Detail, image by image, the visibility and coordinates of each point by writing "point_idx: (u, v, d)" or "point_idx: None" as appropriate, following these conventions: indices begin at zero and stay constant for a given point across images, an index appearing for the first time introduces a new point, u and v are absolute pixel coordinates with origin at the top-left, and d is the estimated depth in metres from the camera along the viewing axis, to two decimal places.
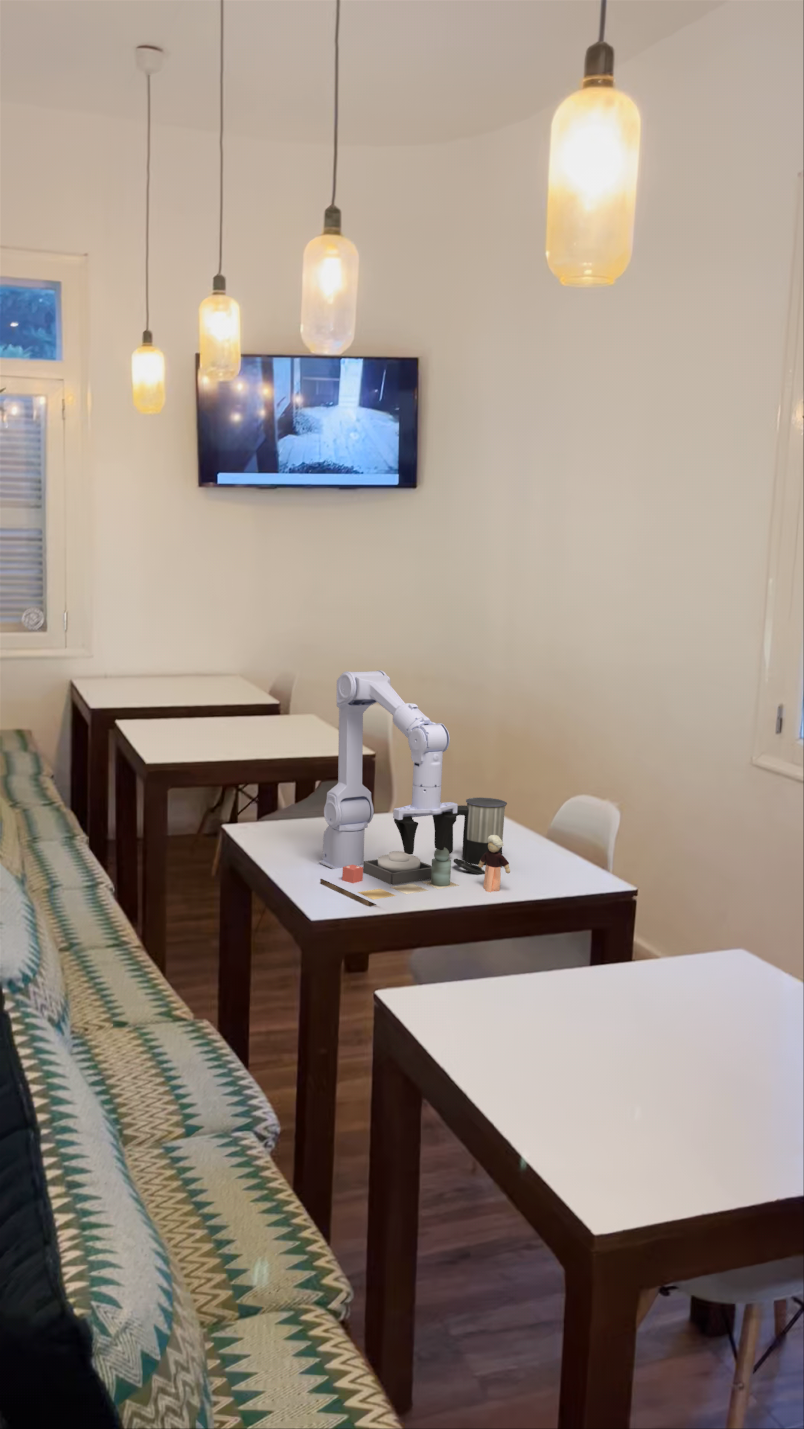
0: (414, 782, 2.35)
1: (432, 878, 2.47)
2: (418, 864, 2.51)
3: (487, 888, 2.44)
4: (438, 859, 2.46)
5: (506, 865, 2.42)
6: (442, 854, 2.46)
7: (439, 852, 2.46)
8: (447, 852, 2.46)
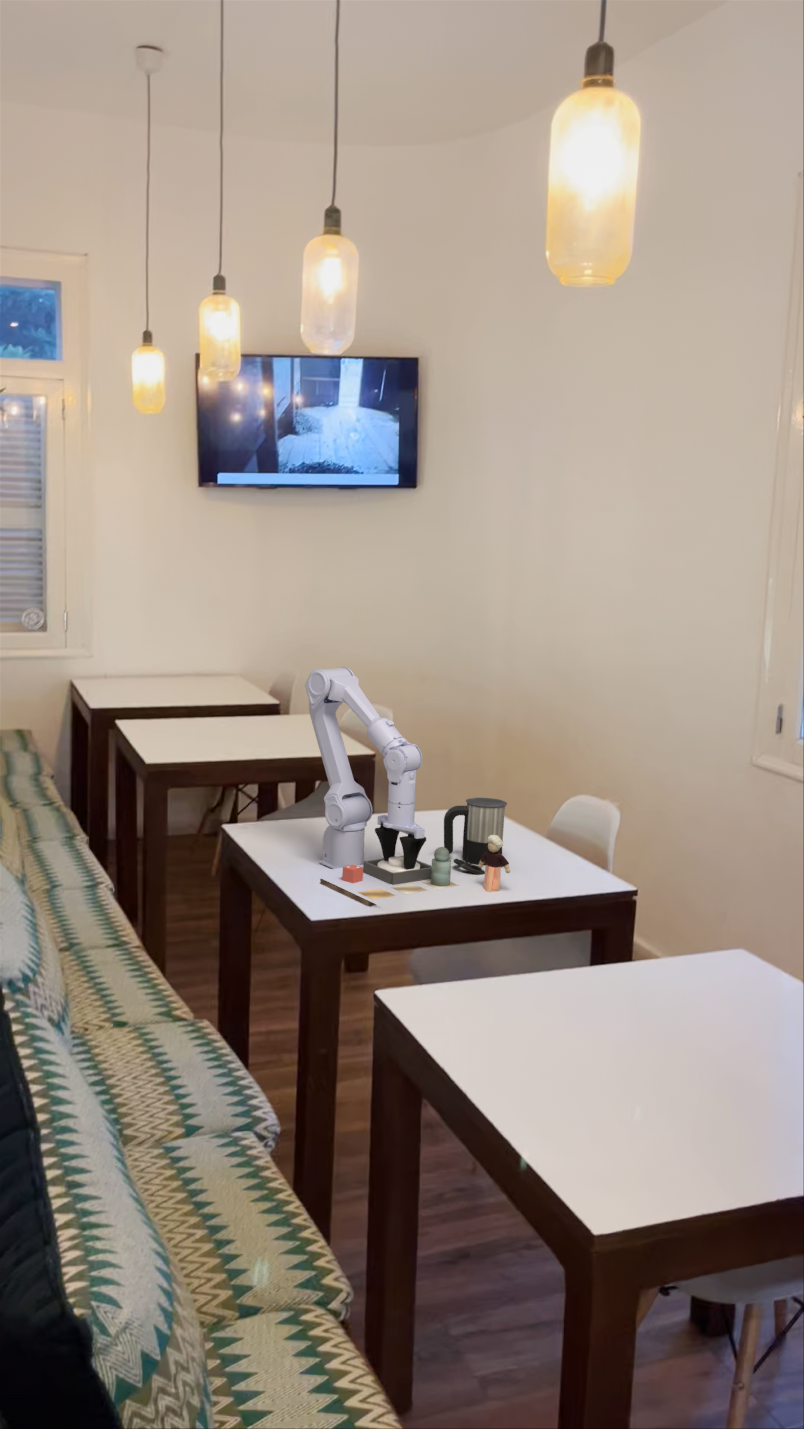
0: (391, 800, 2.49)
1: (432, 878, 2.47)
2: None
3: (487, 888, 2.44)
4: (438, 859, 2.46)
5: (506, 865, 2.42)
6: (442, 854, 2.46)
7: (439, 852, 2.46)
8: (447, 852, 2.46)
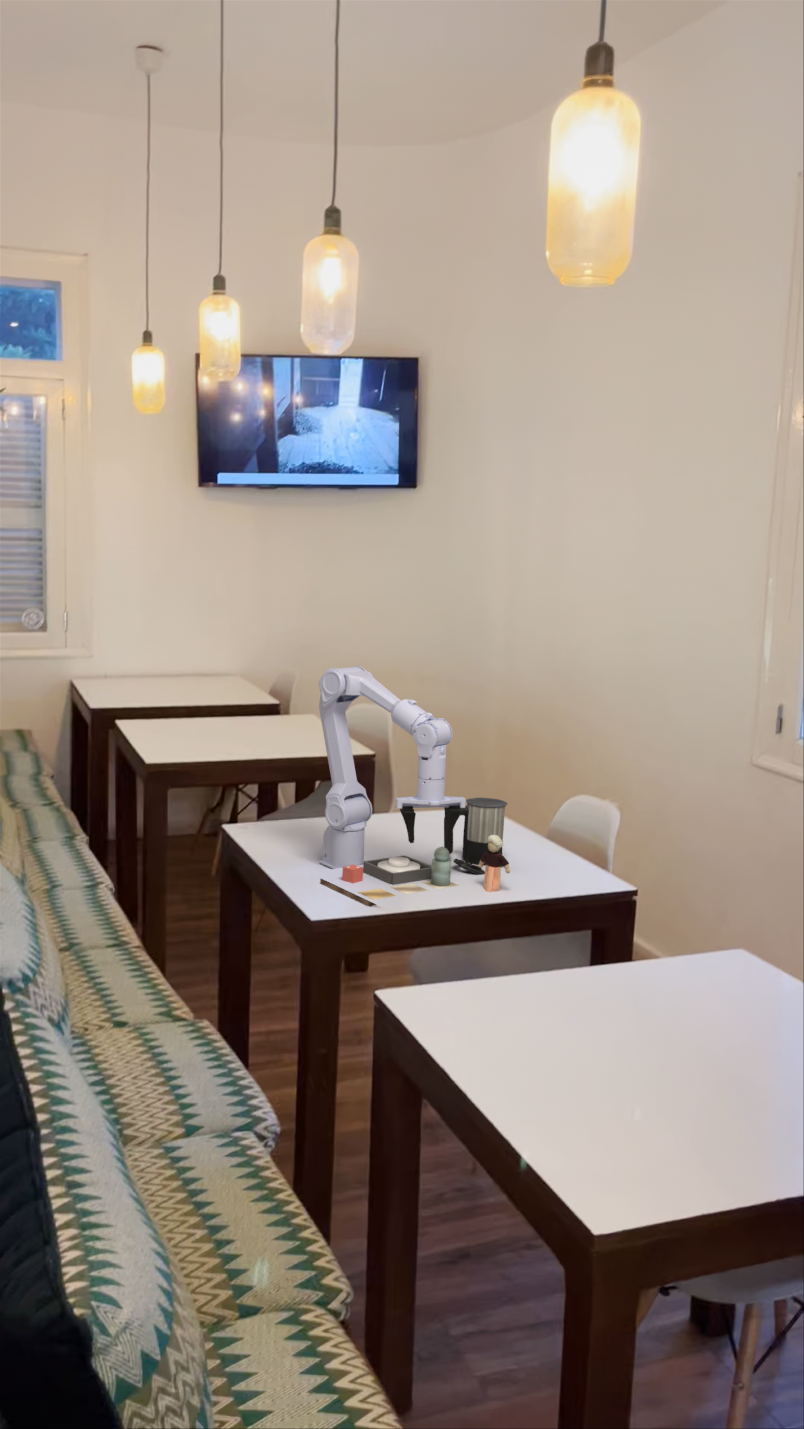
0: (422, 776, 2.45)
1: (432, 878, 2.47)
2: None
3: (487, 888, 2.44)
4: (438, 859, 2.46)
5: (506, 865, 2.42)
6: (442, 854, 2.46)
7: (439, 852, 2.46)
8: (447, 852, 2.46)
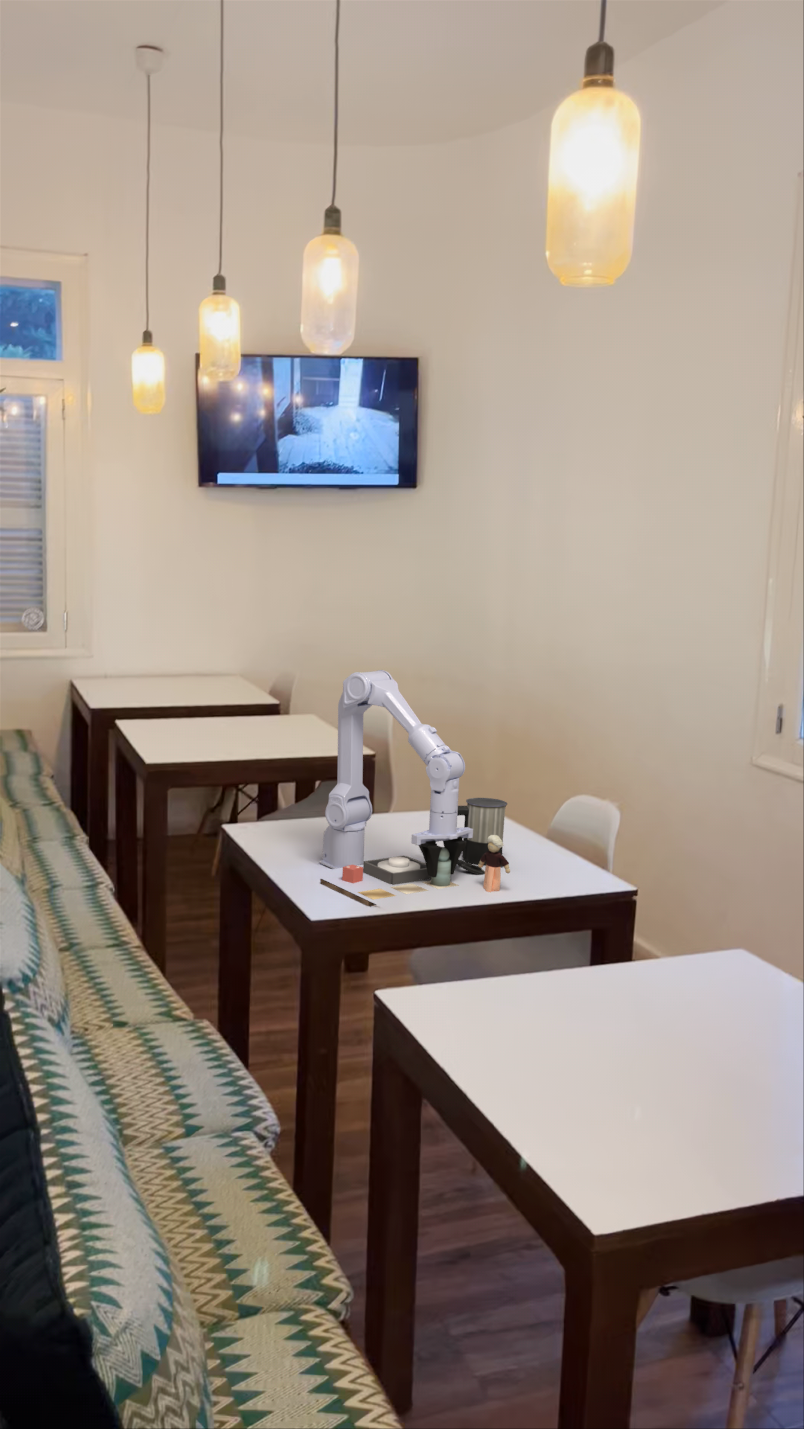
0: (434, 809, 2.44)
1: (432, 878, 2.47)
2: None
3: (487, 888, 2.44)
4: (438, 859, 2.46)
5: (506, 865, 2.42)
6: (442, 854, 2.46)
7: None
8: (447, 852, 2.46)
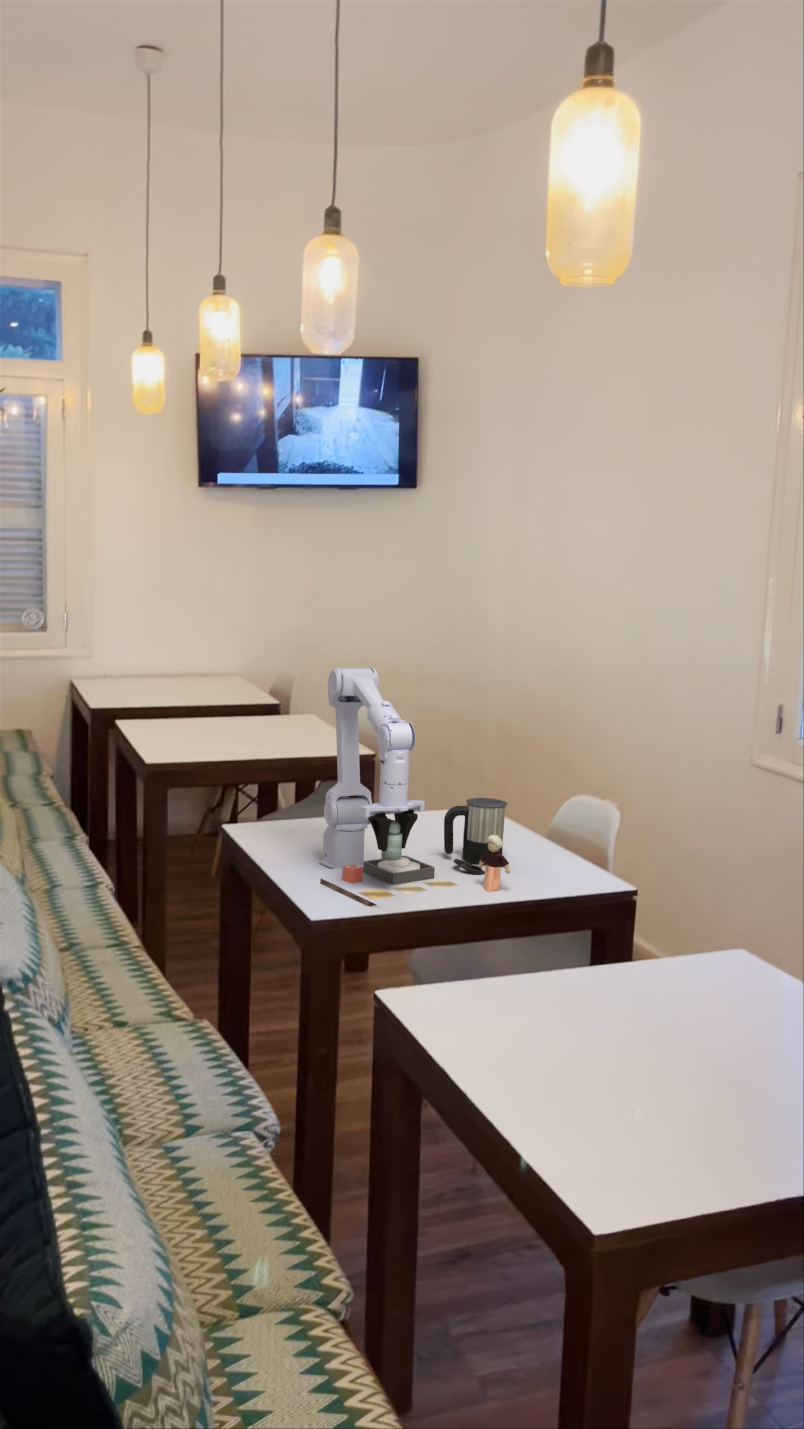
0: (380, 779, 2.37)
1: (383, 852, 2.38)
2: None
3: (487, 888, 2.44)
4: (389, 832, 2.38)
5: (506, 865, 2.42)
6: (392, 828, 2.37)
7: None
8: (398, 825, 2.38)
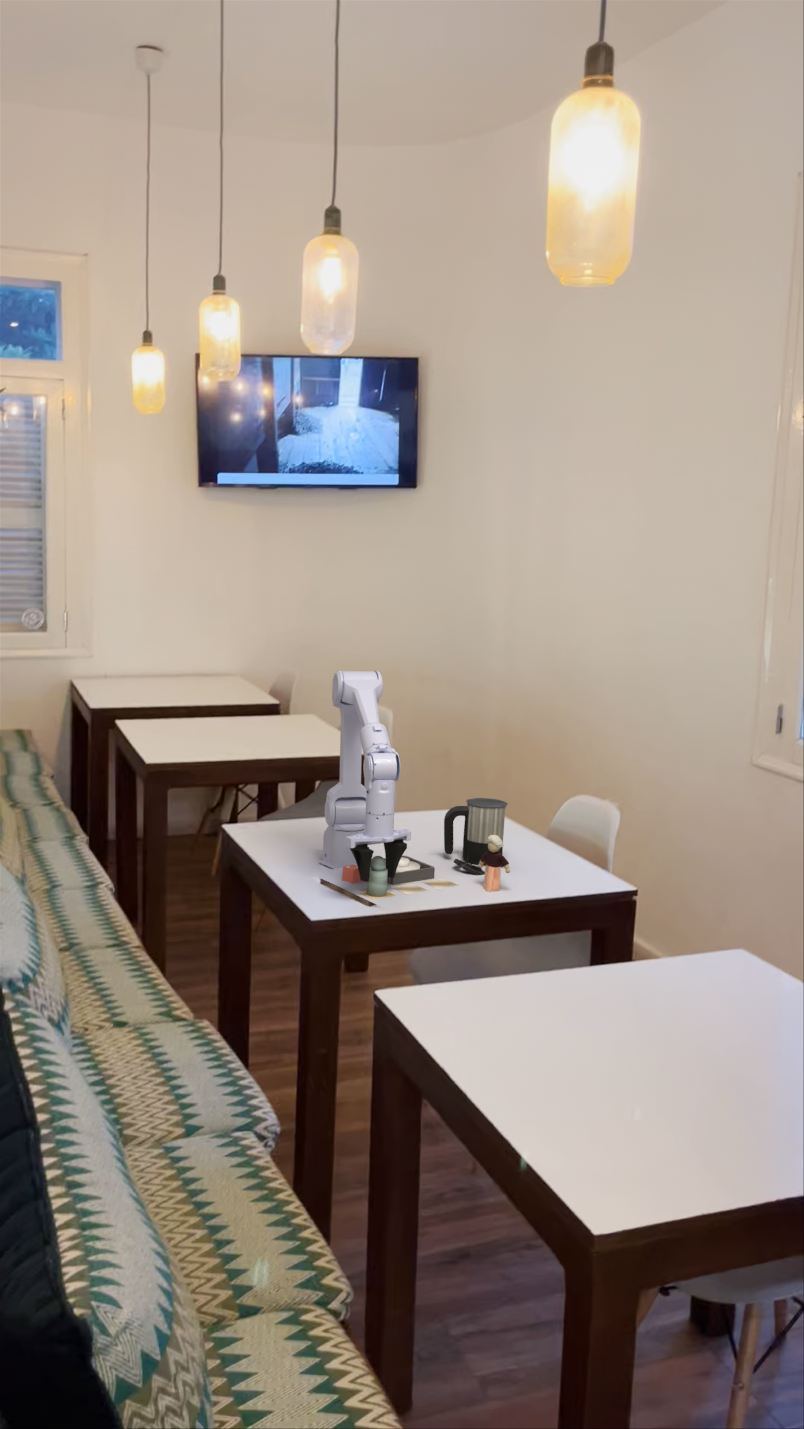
0: (365, 809, 2.36)
1: (368, 888, 2.38)
2: None
3: (487, 888, 2.44)
4: (374, 868, 2.37)
5: (506, 865, 2.42)
6: (377, 864, 2.36)
7: (374, 862, 2.36)
8: (383, 861, 2.37)
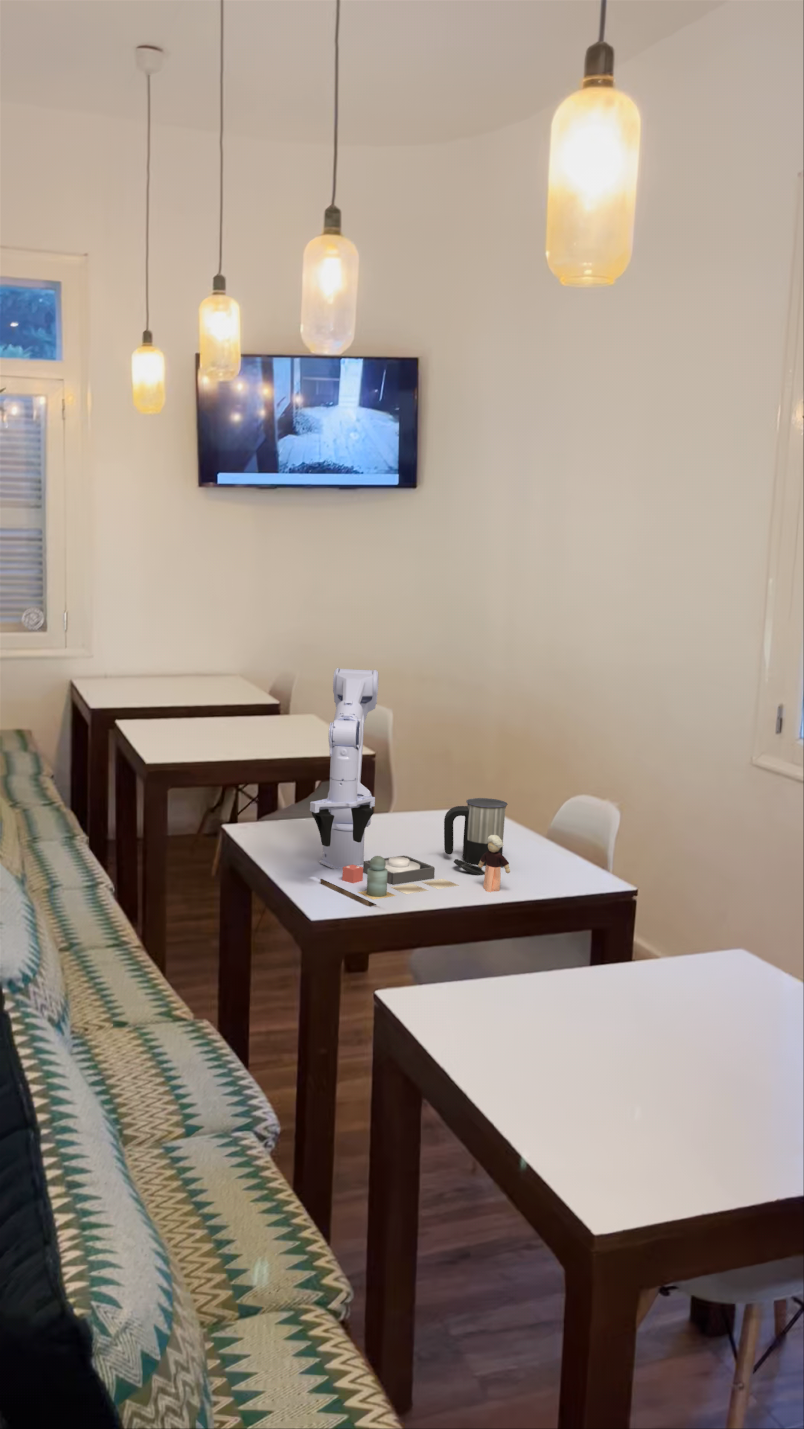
0: None
1: (368, 888, 2.38)
2: None
3: (487, 888, 2.44)
4: (374, 868, 2.37)
5: (506, 865, 2.42)
6: (377, 864, 2.36)
7: (374, 862, 2.36)
8: (383, 861, 2.37)
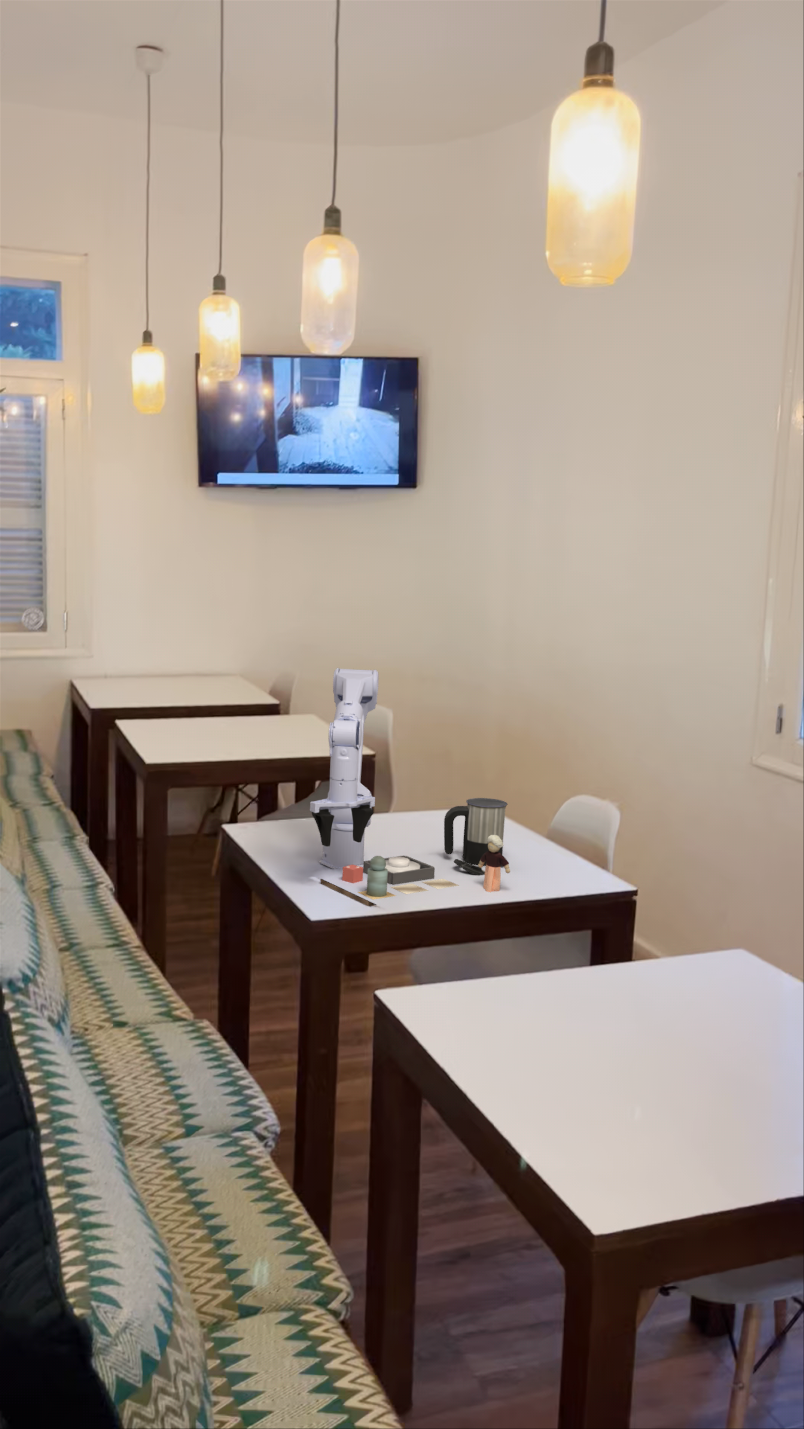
0: None
1: (368, 888, 2.38)
2: None
3: (487, 888, 2.44)
4: (374, 868, 2.37)
5: (506, 865, 2.42)
6: (378, 864, 2.36)
7: (374, 862, 2.36)
8: (383, 861, 2.37)
